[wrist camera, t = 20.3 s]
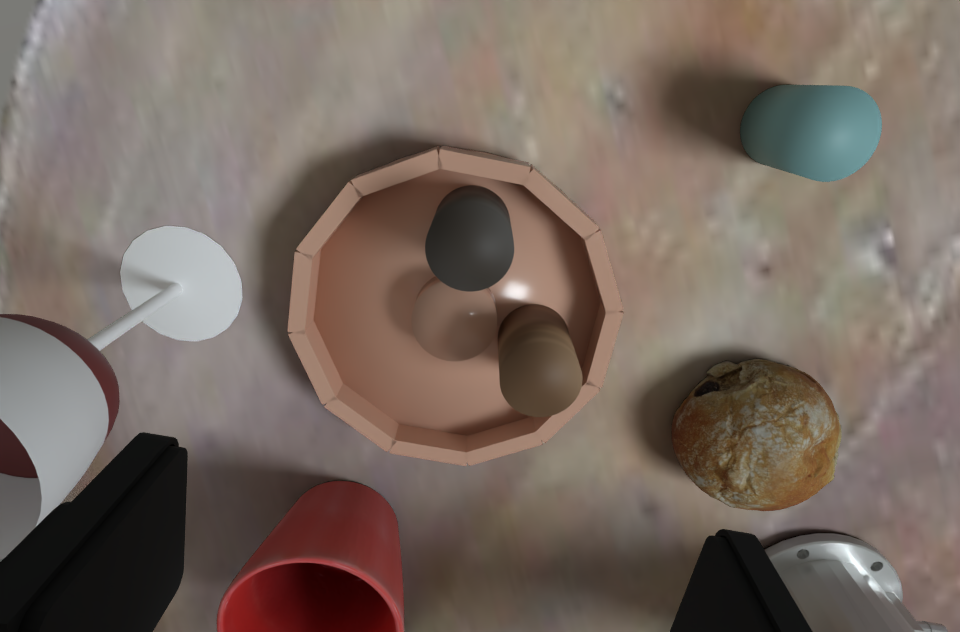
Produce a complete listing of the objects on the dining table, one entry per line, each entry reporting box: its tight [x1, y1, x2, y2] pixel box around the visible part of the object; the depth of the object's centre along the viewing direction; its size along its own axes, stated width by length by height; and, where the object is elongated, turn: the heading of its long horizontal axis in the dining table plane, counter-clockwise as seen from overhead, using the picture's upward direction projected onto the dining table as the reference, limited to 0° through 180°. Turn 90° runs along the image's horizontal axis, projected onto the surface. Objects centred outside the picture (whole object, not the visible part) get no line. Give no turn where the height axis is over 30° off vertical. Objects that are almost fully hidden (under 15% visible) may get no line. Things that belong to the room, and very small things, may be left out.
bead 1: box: [425, 185, 514, 292], centre depth 34 cm, size 4×4×6 cm
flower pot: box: [217, 481, 404, 632], centre depth 41 cm, size 11×11×10 cm
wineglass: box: [0, 226, 243, 559], centre depth 30 cm, size 8×9×20 cm
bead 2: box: [498, 304, 582, 417], centre depth 36 cm, size 4×4×6 cm
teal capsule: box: [740, 85, 882, 182], centre depth 33 cm, size 4×4×6 cm
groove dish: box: [287, 145, 624, 466], centre depth 38 cm, size 19×19×3 cm
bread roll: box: [672, 359, 841, 511], centre depth 40 cm, size 10×10×8 cm
